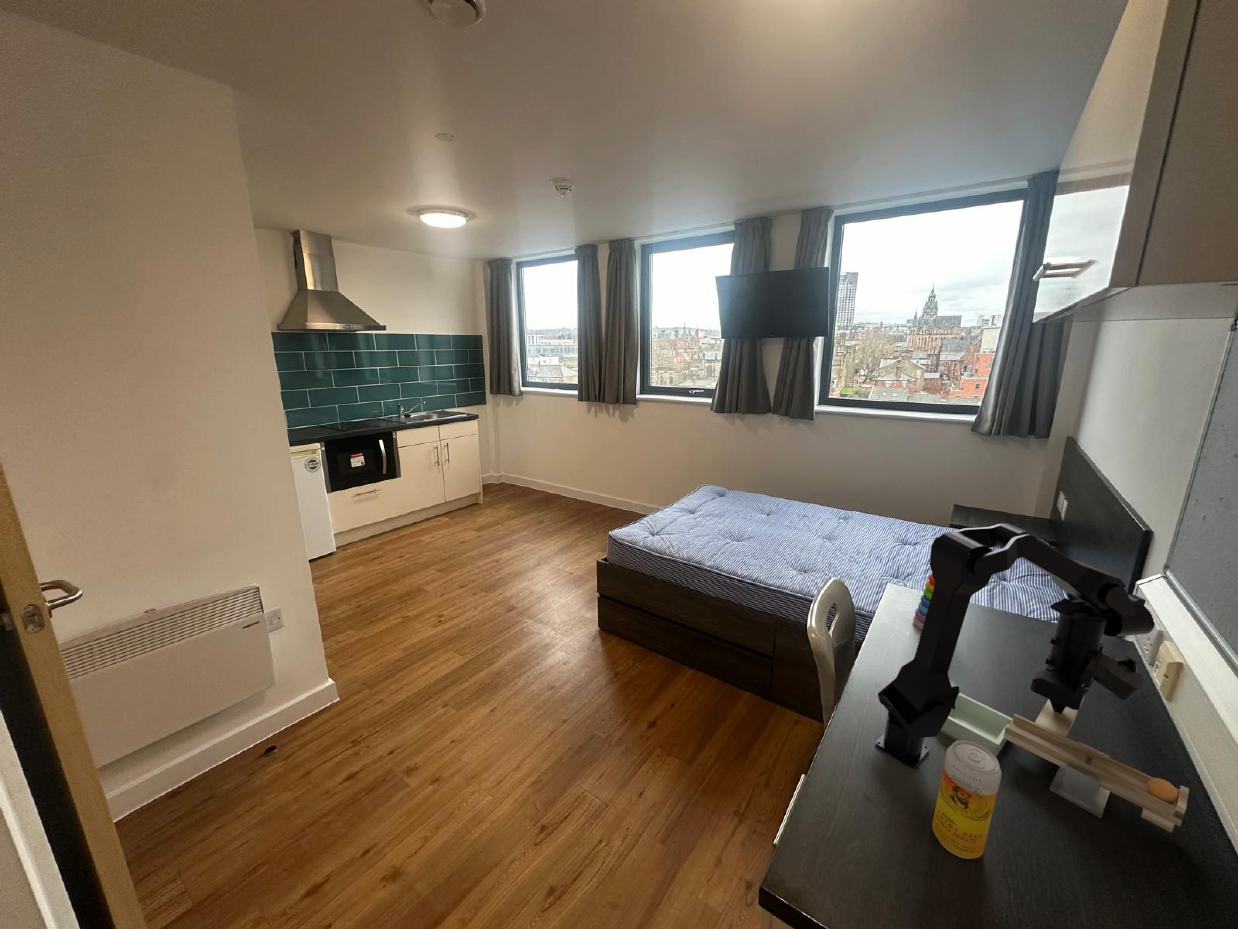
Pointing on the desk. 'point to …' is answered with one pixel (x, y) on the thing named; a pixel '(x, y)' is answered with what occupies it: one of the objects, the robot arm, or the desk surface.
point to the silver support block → (1080, 788)
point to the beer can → (966, 799)
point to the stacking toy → (924, 603)
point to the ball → (1162, 790)
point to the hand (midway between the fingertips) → (1057, 711)
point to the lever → (1093, 763)
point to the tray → (976, 724)
